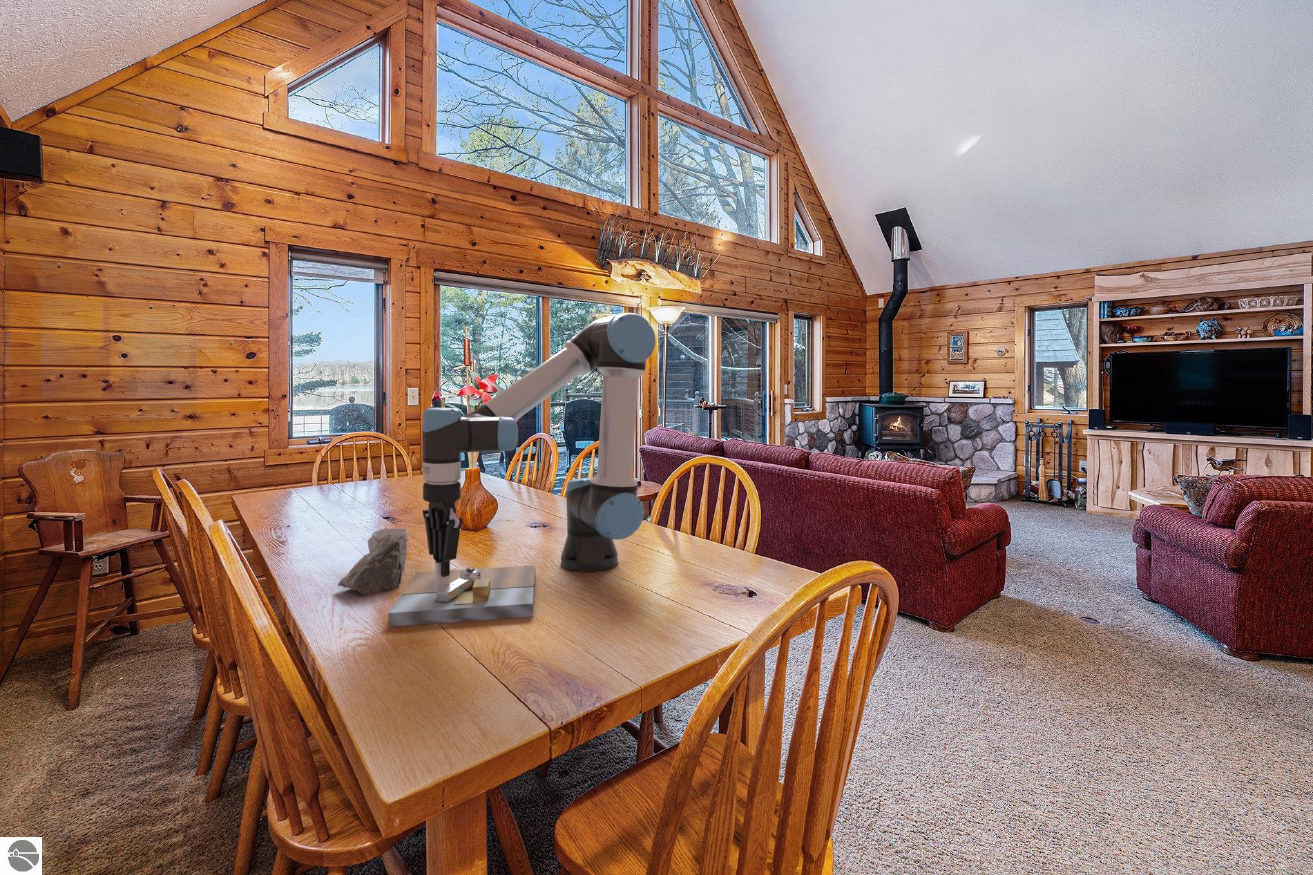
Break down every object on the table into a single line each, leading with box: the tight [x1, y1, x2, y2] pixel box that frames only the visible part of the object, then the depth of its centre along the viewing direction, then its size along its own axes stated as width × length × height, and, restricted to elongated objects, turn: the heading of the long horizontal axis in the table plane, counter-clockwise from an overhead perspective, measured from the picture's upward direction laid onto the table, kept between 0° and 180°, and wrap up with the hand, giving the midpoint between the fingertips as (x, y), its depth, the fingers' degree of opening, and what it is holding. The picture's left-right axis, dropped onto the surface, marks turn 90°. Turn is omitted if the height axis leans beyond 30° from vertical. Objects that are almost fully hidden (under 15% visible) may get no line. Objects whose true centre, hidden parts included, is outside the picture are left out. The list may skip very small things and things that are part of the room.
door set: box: [387, 565, 537, 628], centre depth 132 cm, size 28×26×6 cm
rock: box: [337, 534, 403, 596], centre depth 140 cm, size 12×8×15 cm, turn 134°
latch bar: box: [436, 566, 481, 602], centre depth 128 cm, size 14×4×3 cm, turn 168°
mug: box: [367, 527, 409, 572], centre depth 152 cm, size 11×8×10 cm
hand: (442, 589), depth 126 cm, fingers closed
